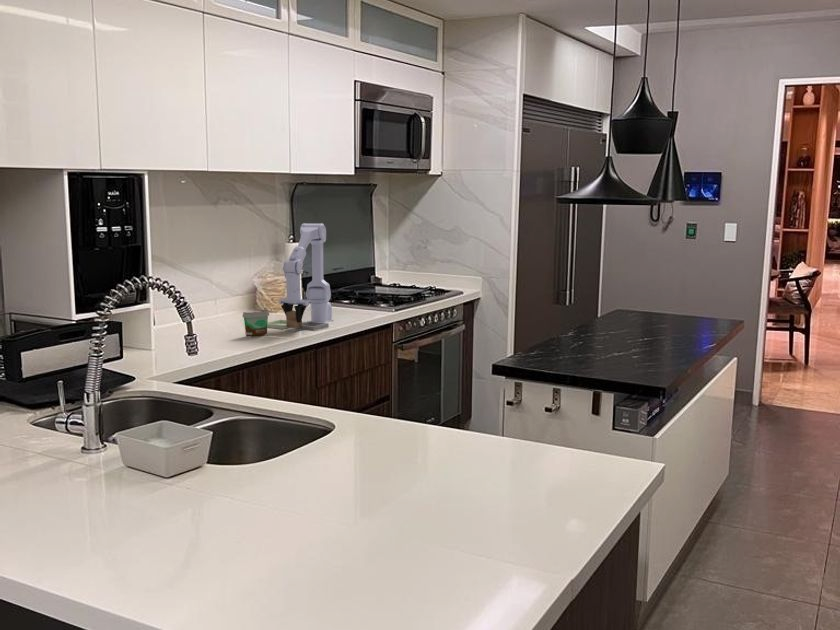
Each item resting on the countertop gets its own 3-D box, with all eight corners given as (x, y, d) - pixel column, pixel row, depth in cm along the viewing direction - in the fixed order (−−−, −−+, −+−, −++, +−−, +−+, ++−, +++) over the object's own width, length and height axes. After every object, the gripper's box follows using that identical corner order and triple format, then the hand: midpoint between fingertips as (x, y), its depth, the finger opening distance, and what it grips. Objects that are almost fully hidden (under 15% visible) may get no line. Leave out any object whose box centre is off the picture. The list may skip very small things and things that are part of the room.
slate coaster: (293, 329, 350) (293, 328, 350) (304, 331, 347) (304, 329, 347) (284, 332, 345) (284, 330, 345) (295, 333, 342) (295, 331, 342)
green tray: (280, 323, 366) (280, 319, 365) (302, 326, 360) (302, 321, 359) (262, 327, 355) (262, 323, 355) (284, 330, 349) (284, 325, 349)
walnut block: (293, 325, 349) (292, 310, 347) (301, 326, 346) (301, 311, 345) (286, 327, 345) (286, 311, 344) (295, 328, 343) (294, 312, 341)
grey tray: (309, 326, 359) (309, 321, 359) (328, 327, 354) (328, 323, 354) (295, 329, 351) (295, 324, 351) (314, 331, 346) (313, 326, 346)
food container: (253, 338, 331) (252, 313, 330) (243, 336, 335) (242, 312, 334) (276, 333, 341) (275, 309, 340) (266, 332, 345) (265, 308, 343)
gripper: (273, 289, 344) (274, 321, 346) (301, 291, 336) (302, 324, 338) (284, 287, 349) (285, 319, 352) (311, 289, 342) (312, 322, 344)
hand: (294, 321), depth 345 cm, fingers closed on walnut block, 5 cm apart
